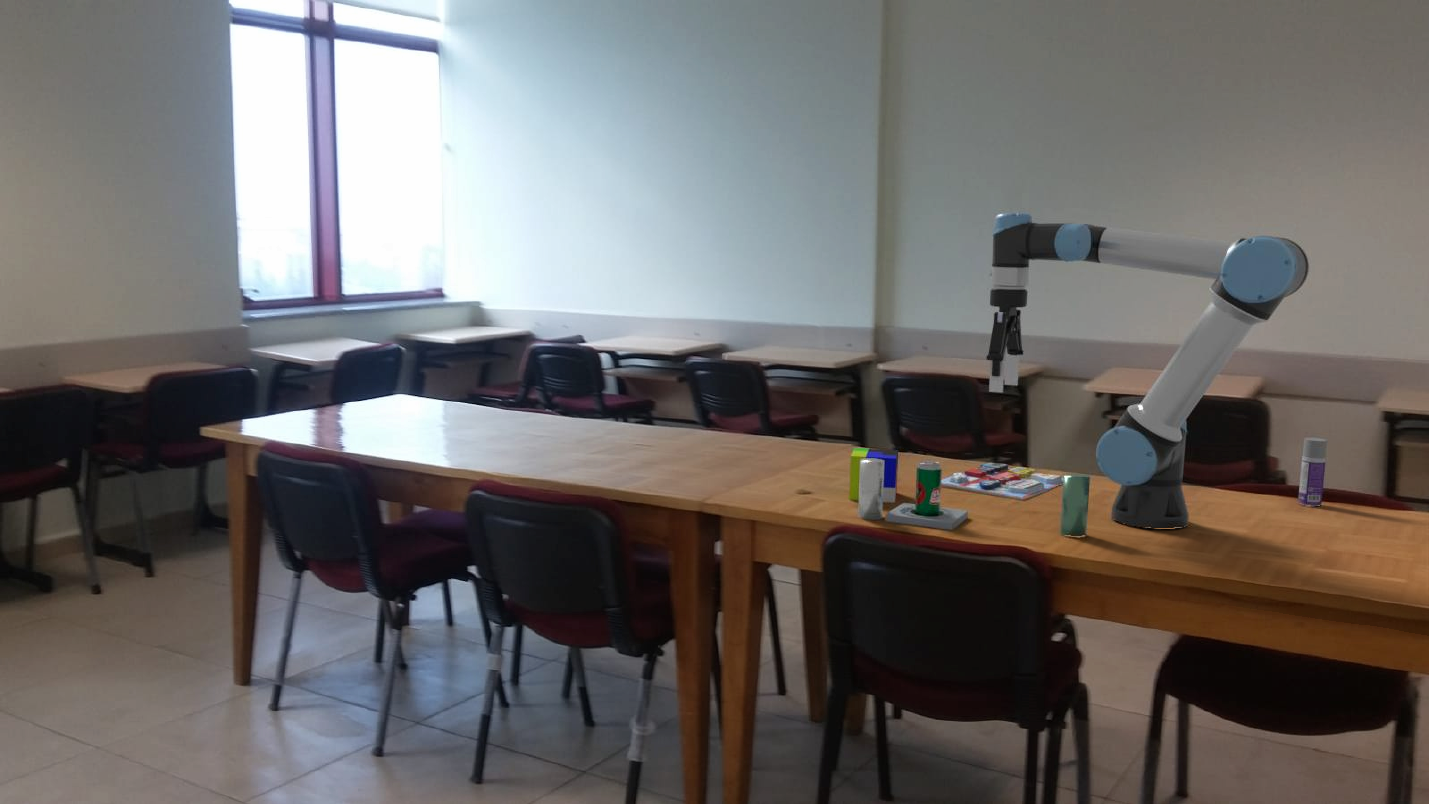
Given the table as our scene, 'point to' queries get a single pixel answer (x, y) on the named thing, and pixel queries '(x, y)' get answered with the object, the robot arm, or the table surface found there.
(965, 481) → the puzzle board
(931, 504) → the soda can
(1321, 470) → the container
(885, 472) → the puzzle toy
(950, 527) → the socket board
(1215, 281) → the robot arm
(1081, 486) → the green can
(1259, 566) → the table surface
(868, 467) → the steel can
